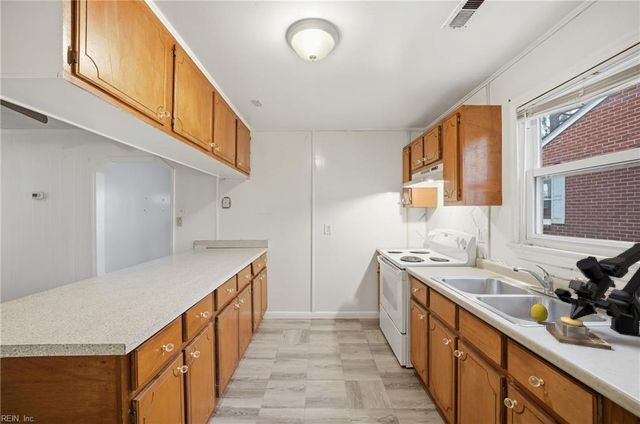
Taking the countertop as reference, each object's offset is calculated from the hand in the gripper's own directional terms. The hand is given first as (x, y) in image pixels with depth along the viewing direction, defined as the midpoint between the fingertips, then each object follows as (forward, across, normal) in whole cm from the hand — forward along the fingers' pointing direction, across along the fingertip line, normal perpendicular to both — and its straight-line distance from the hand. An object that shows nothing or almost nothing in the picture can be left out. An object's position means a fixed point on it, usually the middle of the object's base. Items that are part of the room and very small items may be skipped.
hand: (571, 318), depth 103 cm
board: (+4, +1, +5) cm, 7 cm away
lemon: (+4, -13, +6) cm, 15 cm away
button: (+4, 0, +4) cm, 5 cm away
